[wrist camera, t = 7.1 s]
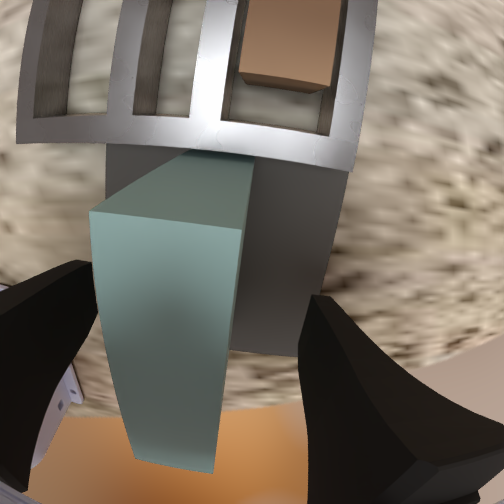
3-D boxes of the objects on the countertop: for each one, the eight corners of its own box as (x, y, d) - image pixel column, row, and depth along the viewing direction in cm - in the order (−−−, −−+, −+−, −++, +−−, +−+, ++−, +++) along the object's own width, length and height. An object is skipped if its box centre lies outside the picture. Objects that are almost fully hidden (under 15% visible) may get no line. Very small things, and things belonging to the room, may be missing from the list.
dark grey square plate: (300, 352, 17) (300, 357, 16) (118, 325, 16) (116, 329, 16) (348, 163, 12) (350, 164, 12) (110, 135, 12) (106, 136, 12)
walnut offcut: (309, 93, 11) (329, 86, 8) (246, 84, 11) (238, 71, 8) (324, -13, 9) (346, -54, 6) (262, -23, 9) (262, -69, 6)
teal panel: (232, 324, 15) (212, 473, 8) (182, 316, 15) (135, 458, 8) (255, 155, 12) (241, 230, 5) (191, 148, 12) (89, 210, 5)
